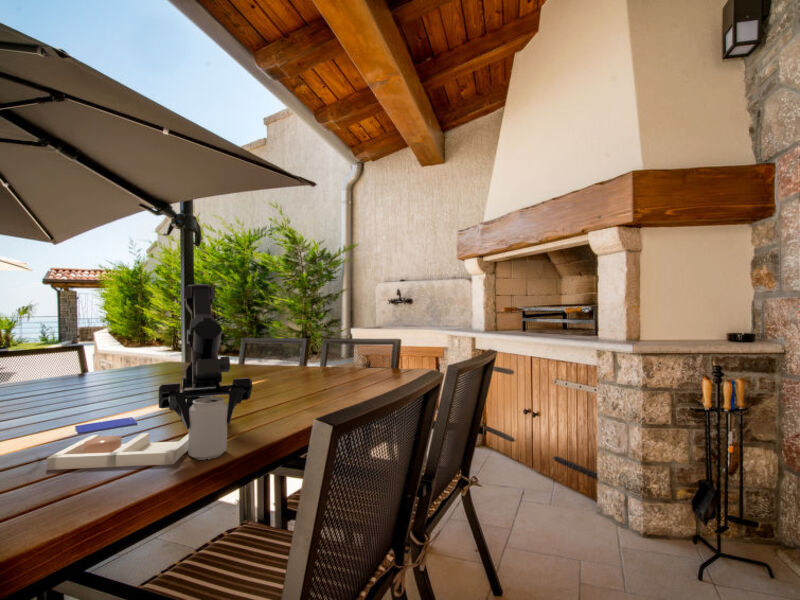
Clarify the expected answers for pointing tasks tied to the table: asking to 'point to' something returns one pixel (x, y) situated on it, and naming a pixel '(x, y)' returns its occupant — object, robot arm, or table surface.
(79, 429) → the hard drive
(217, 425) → the can
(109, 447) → the terracotta dish
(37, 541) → the table surface
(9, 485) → the table surface
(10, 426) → the table surface
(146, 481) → the table surface
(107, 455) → the divider tray
